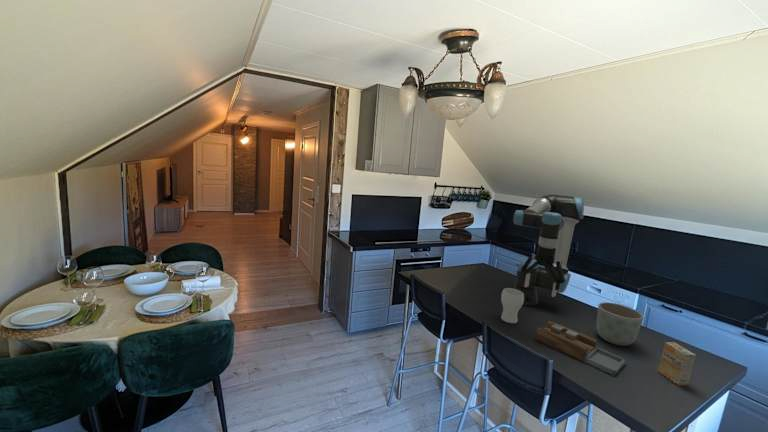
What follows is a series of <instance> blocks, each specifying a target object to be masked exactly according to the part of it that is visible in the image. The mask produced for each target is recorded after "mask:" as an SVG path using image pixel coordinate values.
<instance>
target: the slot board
mask: <svg viewBox="0 0 768 432" xmlns="http://www.w3.org/2000/svg"><path fill="white" fill-rule="evenodd" d="M554 324H557V325H559V326H561V327H564V332H563V336H560V335H558V334H556V333H553V332H551V326H552V325H554ZM568 330H571V331H574V332H576V333H579V335H578V340H577V342H574V341H572V340H570V339H567V338H565V332H566V331H568ZM535 334H536V335H535V340H536V341H538V342H541V343H542V344H543V345H544V344H545V345H547V346H549V347H551V348H553V349H555V350H557V351H559V352H562V353H564V354H567V355H568V356H570V357H573V358H575V359H576V360H577V359H578V361H579V360H580V361H581V362H583V363H585V362H584V358H585V356H587V355H588V354H589V353H590V352H591V351H592V350H593V349H594V348H595V347H597V344H598V339H596V338H593V337H591V336H588V335H585V334H583V333H581V332H579V331H576V330H573V329H571V328H569V327H566V326H564V325H561V324H559V323H557V322H554V321H551V320H548V321H547V324H546V327H542V326H539V327H537V329H536V333H535Z"/></svg>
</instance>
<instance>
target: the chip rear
mask: <svg viewBox="0 0 768 432" xmlns="http://www.w3.org/2000/svg"><path fill="white" fill-rule="evenodd" d="M557 324H558V323H557ZM557 324H554V325H552V326H551V332H553V333H556V334H558V335H560V336H563V332H564V327H565V326H564V327H561V326H562V325H561V326H559V325H560V324H559V325H557Z"/></svg>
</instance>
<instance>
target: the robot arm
mask: <svg viewBox="0 0 768 432" xmlns="http://www.w3.org/2000/svg"><path fill="white" fill-rule="evenodd" d="M584 204H585V203H584V199H583V198H582V197H578V196H577V197H576V196H572V195H569V196H568V195H559V194H546V195H543V196H540V197H537V198H536V199H535V200H534V201H533V203H532V204H531V205H530V206H529V207H528V208H526V209H525V210H523V209H520V210H519V209H516V210H515V212H514V214H513V219H512V221H513V222H512V223H513V224H514V225H517V226H521V227H529V228H533V229H534V228H535V229H539V231H540V232H539V236H538V237H539V238H538V242H537V243H538V245H537V249H536V254H535V253H534V252H532V253H529V254H528V258H527V260H525V261H522V262H519V263H518V264H517V265H518V266H517V268H516V275H515V284H514V286H513V288H512V289H517V290H519V291H521V292H523V294H524V302H523V305H522V306H527V307H528V306H529V307H533V306H534V307H535V306H537V305H538V303H539V298H538V294H537V293H538V292H537V289H538V288H539V289H540V288H541V289H543V290H547V291H550V292H551V297H552V298H554V297H556V296H557V293H558V294H559V293H560V294H562V293H565V291H566V290H567V287H568V285H569V282H570V279H571V275H572V274H571V273H569V268H568V267H567V263H568V258H569V255H570V250H571V245H572V241H573V234H574V231H575V226H576V224H578V223H579V222H580V220H582V219H583V220H584V211H585V210H584V209H585V207H584V206H585V205H584ZM533 259H535V260H536V261H533Z"/></svg>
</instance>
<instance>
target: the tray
mask: <svg viewBox="0 0 768 432" xmlns="http://www.w3.org/2000/svg"><path fill="white" fill-rule="evenodd" d="M626 361H627V359H626V358H624V357H622V356H619V355H616V354H614V353H612V352H609V351H607V350H604V349H603V348H599V347H597V346H596V347H595V348H594V349H593V350H592V351H591V352H590V353H589V354H588V355H587V356H585V358H584V362H583V363H585V364H587V365H589V366H592V367H594V368H595V369H597V368H598V369H597V370H600V371H602V372H604V373H606V372H607V373H606V374H608V373H609V375H610V374H611V376H613V377H616V376H617V375H618V373H619V372H620V371H621V370H622V369H623V367H624V366H625V365H626ZM624 364H625V365H624ZM620 369H621V370H620ZM615 375H616V376H615Z"/></svg>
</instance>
